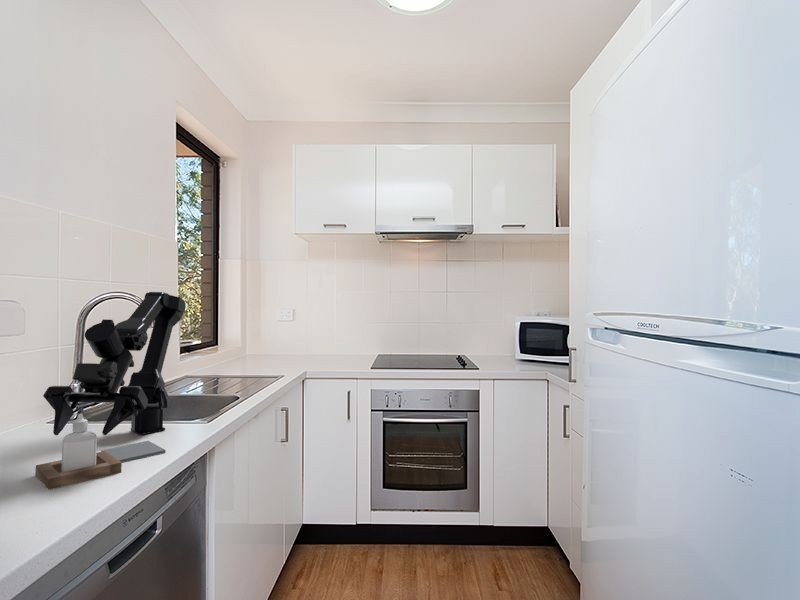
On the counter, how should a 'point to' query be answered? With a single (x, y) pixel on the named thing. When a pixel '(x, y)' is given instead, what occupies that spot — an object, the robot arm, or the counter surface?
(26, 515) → the counter surface
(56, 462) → the wooden tray
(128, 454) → the mat
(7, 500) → the counter surface
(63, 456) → the eye dropper bottle
